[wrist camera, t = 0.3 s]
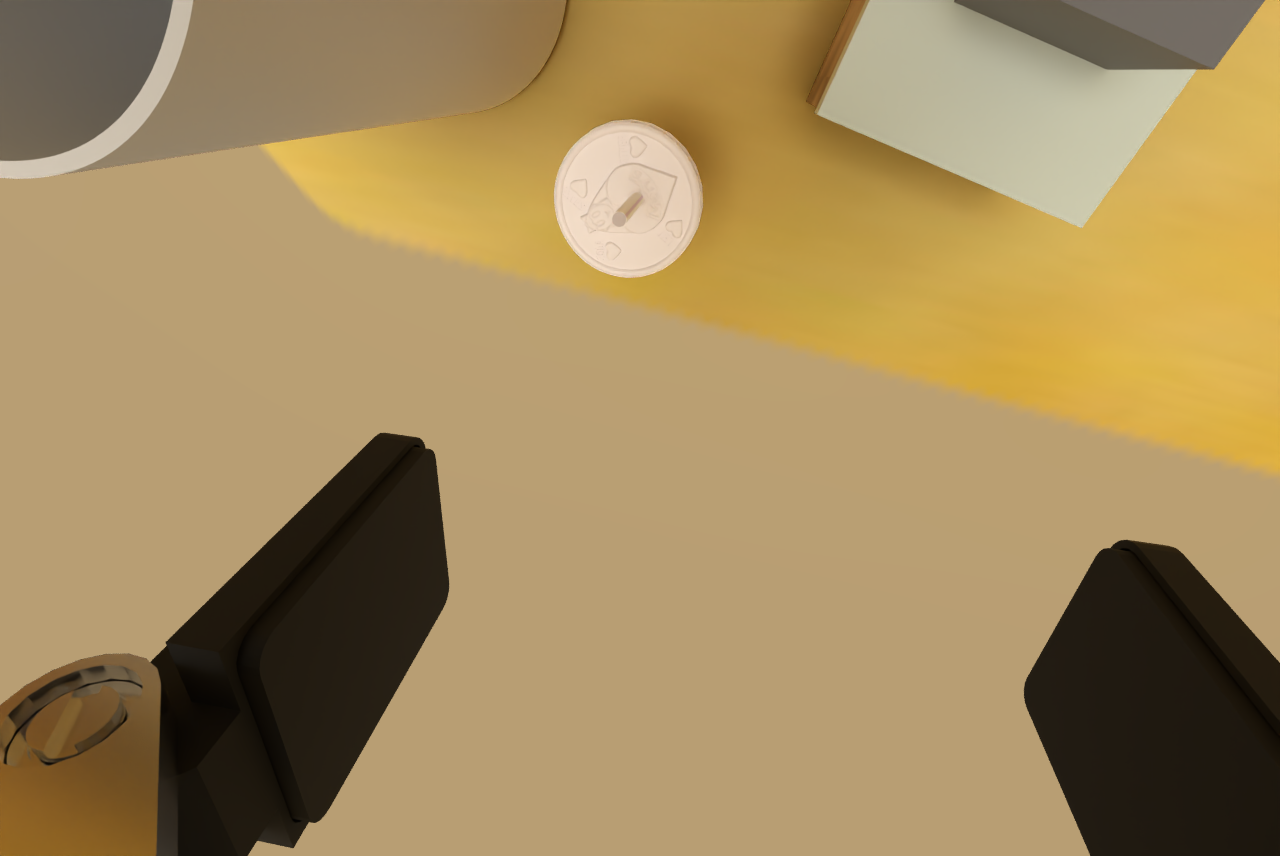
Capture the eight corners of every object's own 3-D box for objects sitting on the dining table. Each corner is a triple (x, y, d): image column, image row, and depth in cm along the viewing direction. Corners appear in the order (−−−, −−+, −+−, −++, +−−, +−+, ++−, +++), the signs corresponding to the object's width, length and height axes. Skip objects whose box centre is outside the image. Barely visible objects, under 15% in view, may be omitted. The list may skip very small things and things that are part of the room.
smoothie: (732, 201, 35) (722, 269, 23) (631, 250, 37) (574, 336, 25) (682, 84, 33) (643, 91, 21) (577, 144, 35) (486, 183, 23)
